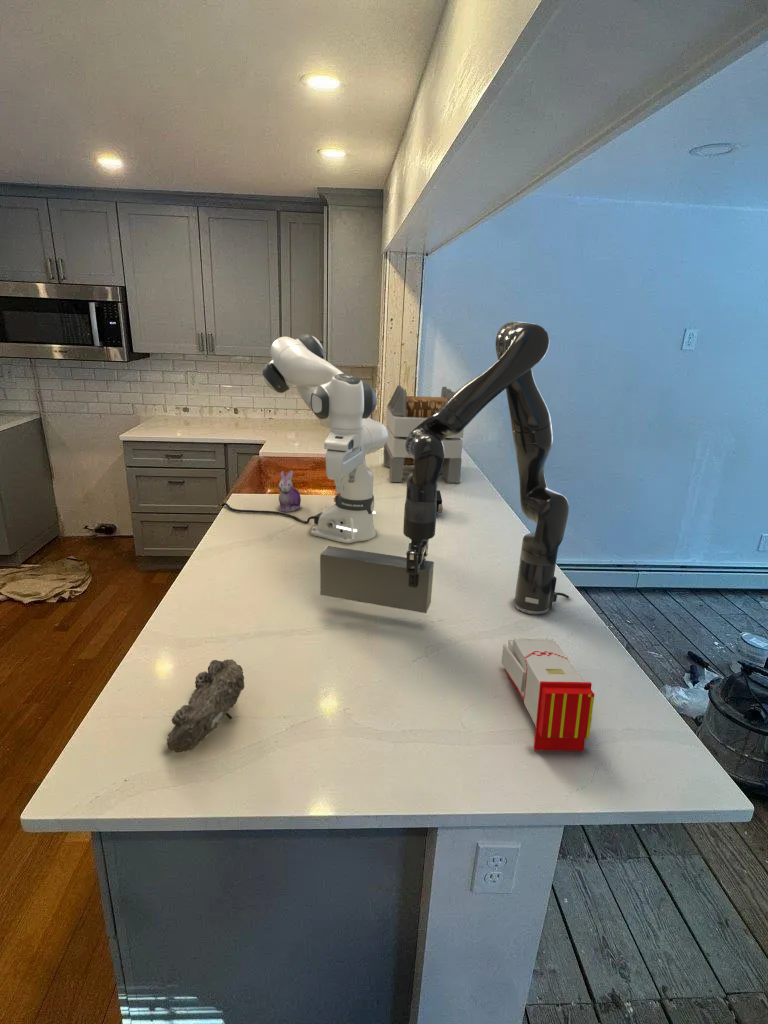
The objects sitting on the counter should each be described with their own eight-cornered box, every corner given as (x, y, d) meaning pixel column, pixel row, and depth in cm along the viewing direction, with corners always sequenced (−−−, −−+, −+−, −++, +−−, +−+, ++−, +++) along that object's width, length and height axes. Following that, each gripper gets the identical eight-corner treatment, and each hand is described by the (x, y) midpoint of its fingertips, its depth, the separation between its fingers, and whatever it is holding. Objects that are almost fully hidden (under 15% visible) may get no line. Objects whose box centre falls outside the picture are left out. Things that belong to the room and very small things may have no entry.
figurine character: (442, 522, 216) (438, 505, 229) (444, 504, 213) (440, 488, 226) (425, 521, 216) (422, 504, 229) (426, 504, 212) (423, 487, 226)
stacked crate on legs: (382, 463, 289) (386, 382, 275) (445, 464, 293) (451, 384, 279) (390, 482, 257) (394, 392, 243) (460, 483, 261) (468, 394, 247)
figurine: (281, 513, 213) (281, 475, 208) (273, 505, 222) (272, 468, 217) (305, 510, 217) (305, 473, 212) (296, 502, 226) (296, 466, 221)
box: (320, 595, 144) (320, 554, 140) (328, 585, 149) (328, 545, 145) (426, 613, 137) (429, 571, 133) (430, 602, 142) (433, 561, 138)
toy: (549, 621, 128) (604, 690, 99) (544, 676, 131) (595, 758, 101) (496, 620, 128) (535, 688, 98) (492, 675, 130) (528, 757, 101)
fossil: (192, 660, 117) (244, 628, 112) (224, 691, 120) (276, 661, 115) (142, 746, 98) (202, 712, 93) (182, 779, 101) (242, 748, 96)
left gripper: (348, 429, 161) (347, 476, 165) (321, 443, 142) (321, 496, 147) (369, 431, 159) (368, 478, 164) (345, 446, 141) (344, 499, 145)
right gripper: (429, 528, 125) (424, 596, 131) (441, 508, 138) (436, 571, 144) (396, 524, 127) (393, 591, 133) (411, 504, 140) (408, 566, 146)
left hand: (345, 487), depth 155 cm, fingers open, 8 cm apart
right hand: (416, 580), depth 138 cm, fingers closed on box, 5 cm apart
